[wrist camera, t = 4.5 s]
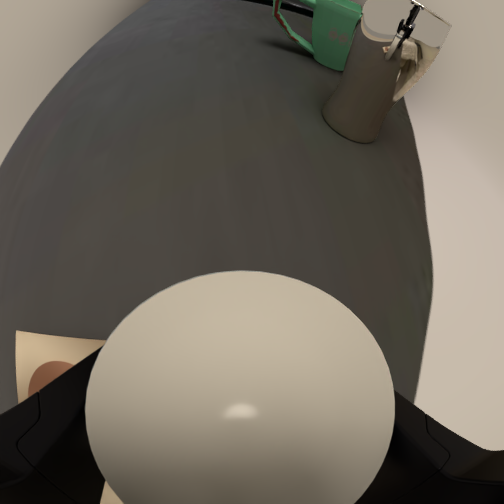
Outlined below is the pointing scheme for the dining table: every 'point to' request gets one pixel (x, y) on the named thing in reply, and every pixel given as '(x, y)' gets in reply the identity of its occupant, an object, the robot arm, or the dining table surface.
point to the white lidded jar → (240, 396)
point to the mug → (326, 30)
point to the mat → (51, 369)
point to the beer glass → (383, 64)
